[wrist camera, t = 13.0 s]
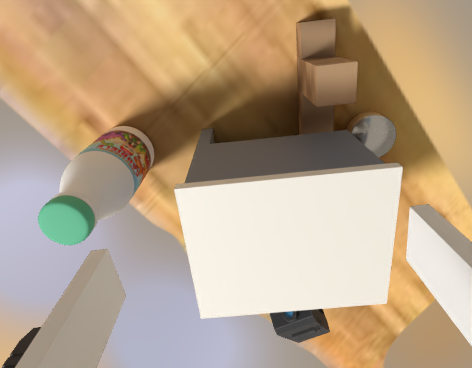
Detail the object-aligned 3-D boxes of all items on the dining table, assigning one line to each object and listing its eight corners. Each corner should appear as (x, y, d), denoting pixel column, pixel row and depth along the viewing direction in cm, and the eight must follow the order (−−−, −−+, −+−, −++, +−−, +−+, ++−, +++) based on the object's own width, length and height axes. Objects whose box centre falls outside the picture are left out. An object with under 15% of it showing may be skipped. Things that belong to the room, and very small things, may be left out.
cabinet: (197, 126, 46) (174, 189, 28) (334, 111, 45) (402, 166, 27) (212, 218, 52) (200, 318, 34) (332, 207, 51) (386, 303, 33)
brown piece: (296, 23, 40) (316, 20, 30) (328, 19, 40) (360, 15, 30) (300, 183, 50) (317, 222, 40) (326, 181, 49) (350, 219, 40)
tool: (278, 218, 49) (316, 320, 40) (306, 258, 64) (338, 339, 55) (241, 233, 50) (270, 337, 41) (277, 269, 65) (304, 351, 56)
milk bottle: (144, 183, 49) (92, 271, 31) (94, 161, 48) (9, 241, 30) (163, 139, 47) (118, 208, 28) (110, 115, 45) (27, 172, 27)
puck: (337, 126, 46) (343, 131, 44) (377, 102, 45) (385, 106, 42) (355, 159, 48) (362, 167, 46) (394, 138, 47) (403, 144, 44)
